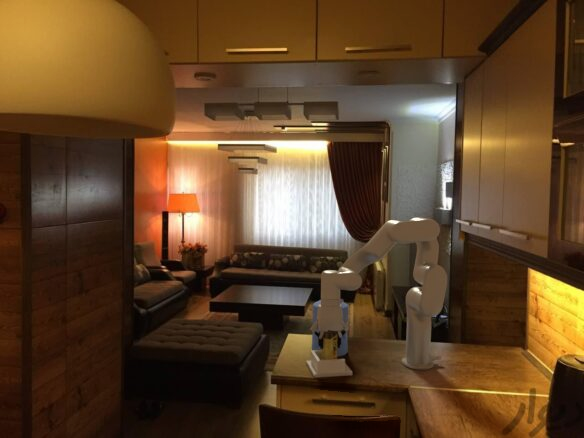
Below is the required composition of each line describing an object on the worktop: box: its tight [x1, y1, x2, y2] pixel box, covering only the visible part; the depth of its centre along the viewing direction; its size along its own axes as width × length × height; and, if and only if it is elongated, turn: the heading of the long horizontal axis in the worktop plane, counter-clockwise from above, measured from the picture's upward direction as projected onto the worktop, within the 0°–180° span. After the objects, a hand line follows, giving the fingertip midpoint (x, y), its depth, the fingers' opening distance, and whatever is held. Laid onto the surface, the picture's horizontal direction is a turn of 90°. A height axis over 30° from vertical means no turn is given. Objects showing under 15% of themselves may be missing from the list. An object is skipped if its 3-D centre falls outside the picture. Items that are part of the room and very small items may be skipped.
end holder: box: [305, 349, 353, 378], centre depth 180 cm, size 15×14×6 cm
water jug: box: [311, 299, 350, 358], centre depth 199 cm, size 16×16×28 cm
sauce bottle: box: [321, 330, 338, 360], centre depth 179 cm, size 7×6×20 cm
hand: (329, 346), depth 180 cm, fingers closed on sauce bottle, 6 cm apart
